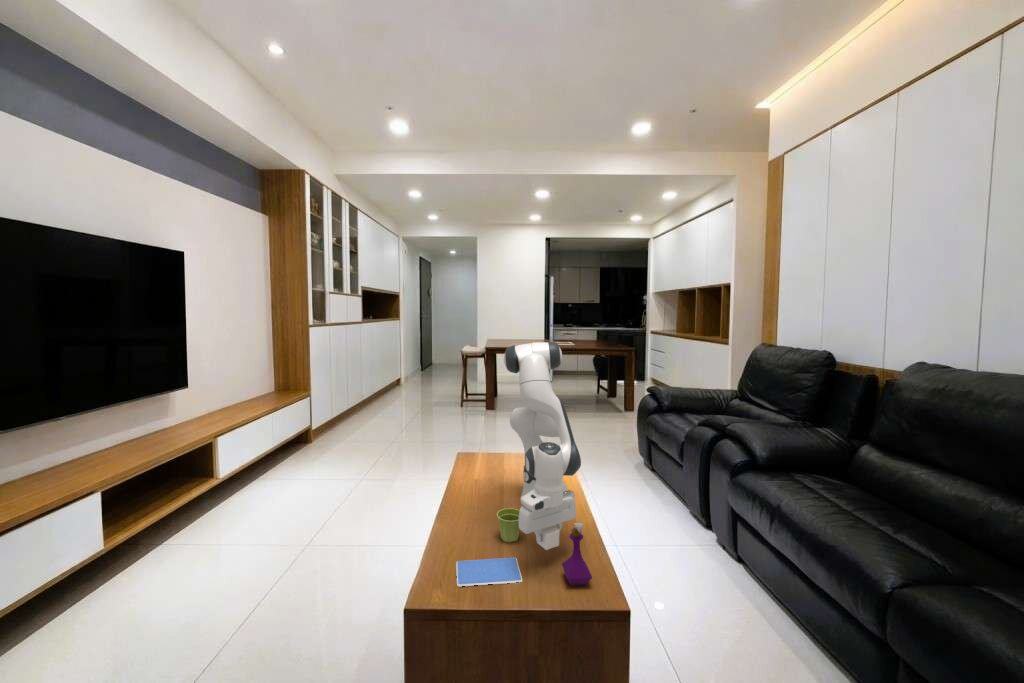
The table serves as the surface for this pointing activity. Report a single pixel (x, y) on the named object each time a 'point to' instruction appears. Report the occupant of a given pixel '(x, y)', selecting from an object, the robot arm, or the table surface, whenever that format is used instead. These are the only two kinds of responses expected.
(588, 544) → the table surface
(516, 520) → the plant pot
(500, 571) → the tablet computer
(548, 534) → the cream block
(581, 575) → the perfume bottle
